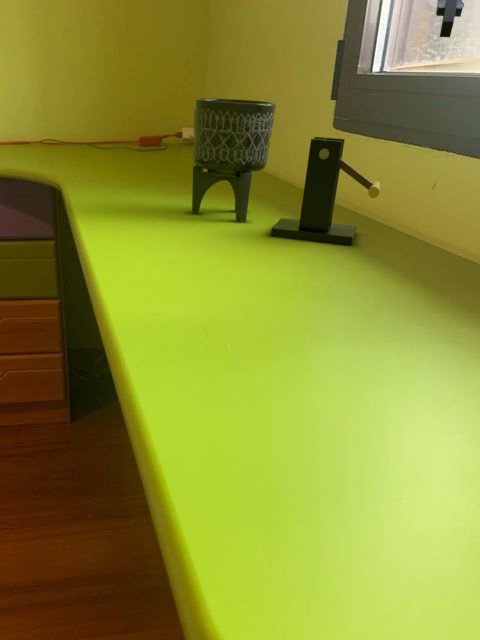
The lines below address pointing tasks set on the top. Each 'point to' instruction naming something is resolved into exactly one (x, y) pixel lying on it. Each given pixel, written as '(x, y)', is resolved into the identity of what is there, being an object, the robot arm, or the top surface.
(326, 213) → the bracket
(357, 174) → the lever
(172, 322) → the top surface
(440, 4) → the robot arm
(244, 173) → the planter
